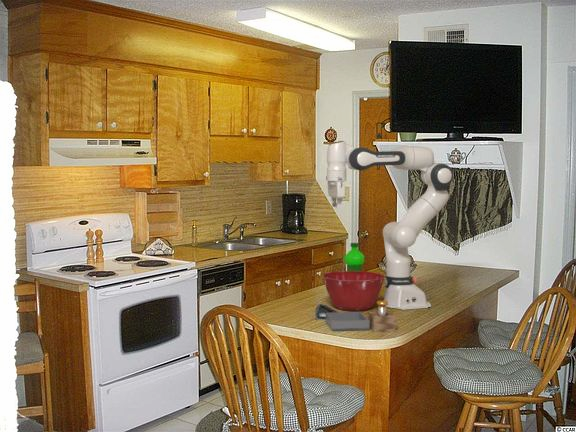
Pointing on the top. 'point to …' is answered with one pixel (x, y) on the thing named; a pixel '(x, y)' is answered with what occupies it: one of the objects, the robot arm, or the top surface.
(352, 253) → the plastic bottle
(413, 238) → the robot arm
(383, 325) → the hitch block
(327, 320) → the tray
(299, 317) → the top surface
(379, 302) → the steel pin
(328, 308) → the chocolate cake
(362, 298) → the mixing bowl
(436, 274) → the top surface
